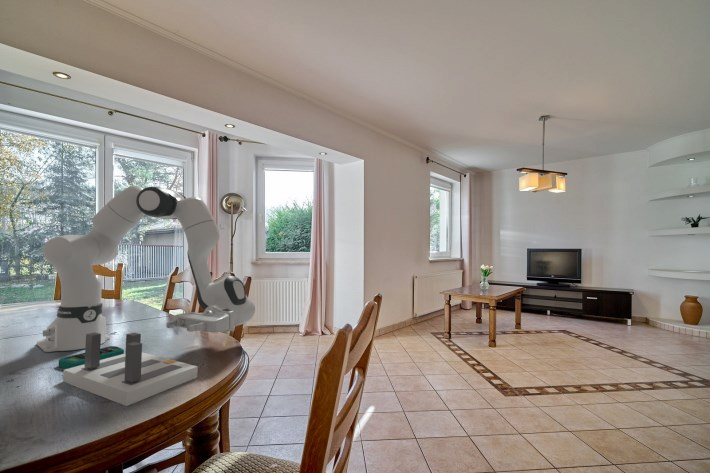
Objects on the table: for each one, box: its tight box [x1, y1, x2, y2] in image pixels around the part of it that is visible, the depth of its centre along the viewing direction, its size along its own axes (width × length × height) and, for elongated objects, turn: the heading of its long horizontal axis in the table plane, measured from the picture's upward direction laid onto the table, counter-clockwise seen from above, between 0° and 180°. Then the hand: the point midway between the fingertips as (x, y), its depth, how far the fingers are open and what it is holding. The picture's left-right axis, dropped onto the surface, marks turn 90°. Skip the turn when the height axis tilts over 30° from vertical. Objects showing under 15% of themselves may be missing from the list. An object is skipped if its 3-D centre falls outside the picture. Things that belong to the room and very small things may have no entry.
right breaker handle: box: [125, 342, 143, 382], centre depth 78 cm, size 3×2×9 cm, turn 64°
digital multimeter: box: [58, 345, 125, 370], centre depth 99 cm, size 7×15×3 cm, turn 156°
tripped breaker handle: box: [124, 332, 142, 357], centre depth 86 cm, size 3×2×9 cm, turn 64°
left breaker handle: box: [84, 333, 102, 369], centre depth 85 cm, size 3×2×9 cm, turn 64°
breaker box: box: [62, 351, 199, 407], centre depth 86 cm, size 28×18×3 cm, turn 64°
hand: (177, 327), depth 97 cm, fingers open, 8 cm apart
